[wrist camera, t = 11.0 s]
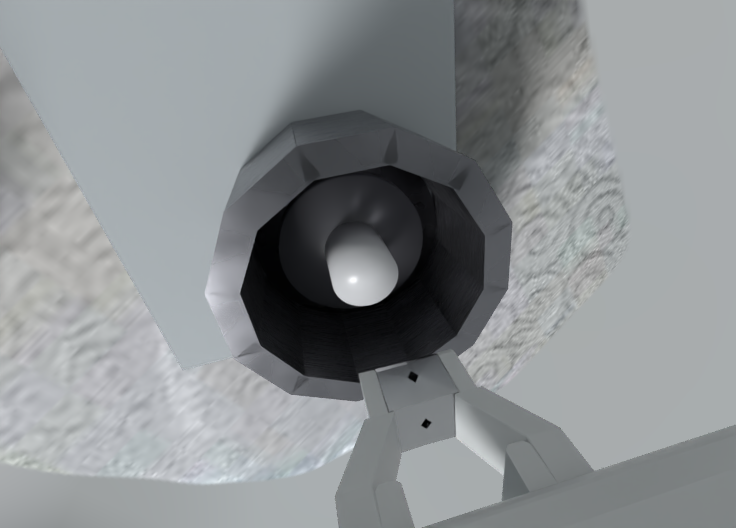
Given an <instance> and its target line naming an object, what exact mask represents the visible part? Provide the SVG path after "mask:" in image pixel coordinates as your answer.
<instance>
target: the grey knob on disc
mask: <svg viewBox="0 0 736 528" xmlns="http://www.w3.org/2000/svg"><path fill="white" fill-rule="evenodd" d="M422 243H423V231H422V225H421V220H420V217H419V215H418V212H417V210H416V209H415V207H414V205H413V204H412V202H411V201H410V200H409V199H408V197H407V196H406V195H405V194H404V193H403V192H402V191H401V190H400V189H399V188H398V187H397V186H396V185H395V184H393V183H392V182H390V181H389V180H387V179H386V178H384V177H382V176H380V175H377V174H374V173H371V172H367V171H357V172H353V173H348V174H343V175H338V176H333V177H328V178H323V179H318V180H314V181H313V182H312V183H311V184H309V185H308V186H307V187H306V188H305V189H304V190H303V191H302V192H300V193H299V194H298V195H297V196H296V197H295V198H294V199H292V200H291V201H290V203H289V205H288V206H287V208H286V210H285V212H284V214H283V216H282V220H281V223H280V228H279V257H280V263H281V266H282V269H283V271H284V273H285V275H286V277H287V279H288V280H289V282H290V283H291V285H292V286H293V287H294V288H295V289H296V290H297V291H298V292H299V293H301V294H302V295H303V296H304V297H306V298H308V299H309V300H311V301H313V302H315V303H318V304H320V305H323V306H327V307H332V308H341V309H348V308H358V307H363V306H368V305H372V304H375V303H377V302H379V301H381V300H383V299H384V298H386V297H387V296H389V295H390V294H392V293H393V292H394V291H396V290H397V289H398V288H399V287H400V286H401V285H402V284H403V283H404V282H405V281H406V280H407V279H408V278H409V276H410V275H411V273H412V272H413V270H414V269H415V266H416V264H417V262H418V260H419V257H420V254H421V249H422Z"/></svg>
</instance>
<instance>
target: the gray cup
mask: <svg viewBox="0 0 736 528" xmlns="http://www.w3.org/2000/svg"><path fill="white" fill-rule="evenodd" d="M357 171H367V172H371V173H374V174H377V175H380V176H382V177H384V178H386V179H387V180H389V181H390V182H392V183H393V184H395V185H396V186H397V187H398V188H399V189H400V190H401V191H402V192H403V193H404V194H405V195H406V196H407V197H408V199H409V200H410V201H411V202H412V204H413V205H414V207H415V209H416V210H417V212H418V215H419V217H420V220H421V225H422V231H423V243H422V249H421V254H420V257H419V260H418V262H417V264H416V266H415V269H414V270H413V272H412V273H411V275H410V276H409V278H408V279H407V280H406V281H405V282H404V283H403V284H402V285H401V286H400V287H399V288H398V289H397V290H396V291H394V292H393V293H392V294H390V295H389V296H387V297H386V298H384V299H383V300H381V301H379V302H377V303H375V304H372V305H368V306H363V307H358V308H348V309H341V308H332V307H327V306H323V305H320V304H318V303H315V302H313V301H311V300H309V299H308V298H306V297H304V296H303V295H302V294H301V293H299V292H298V291H297V290H296V289H295V288H294V287H293V286H292V285H291V283H290V282H289V280H288V279H287V277H286V275H285V273H284V271H283V269H282V266H281V263H280V257H279V228H280V223H281V220H282V216H283V214H284V212H285V210H286V208H287V206H288V205H289V203H290V201H291V200H292V199H294V198H295V197H296V196H297V195H298V194H299V193H300V192H302V191H303V190H304V189H305V188H306V187H307V186H308V185H309V184H311V183H312V182H313V181H314V180H318V179H323V178H328V177H333V176H338V175H343V174H348V173H353V172H357ZM426 185H427V186H426ZM428 188H429V189H430V191H431V192H432V197H431V194H430V192H429V189H428ZM511 236H512V221H511V219H510V218H509V216H508V214H507V213H506V211H505V209H504V208H503V206H502V204H501V202H500V201H499V199H498V197H497V196H496V194H495V192H494V191H493V189H492V187H491V186H490V184H489V182H488V181H487V179H486V177H485V176H484V174H483V172H482V171H481V169H480V167H479V166H478V164H477V162H476V161H475V160H474V159H471V158H469V157H467V156H465V155H463V154H461V153H459V152H456V151H454V150H452V149H450V148H448V147H446V146H444V145H441V144H439V143H437V142H435V141H433V140H431V139H429V138H427V137H424V136H422V135H420V134H418V133H415V132H413V131H411V130H408V129H406V128H403V127H401V126H399V125H396V124H394V123H391V122H389V121H387V120H384V119H382V118H379V117H377V116H375V115H372V114H370V113H367V112H365V111H363V110H355V111H349V112H344V113H338V114H333V115H327V116H322V117H316V118H311V119H305V120H300V121H294V122H290V123H289V124H288V125H287V126H286V127H285V128H284V129H283V130H282V131H281V132H280V133H279V134H278V135H276V136H275V137H274V138H273V139H272V140H271V141H270V142H269V143H268V144H267V145H266V146H265V147H264V148H262V149H261V150H260V151H259V152H258V153H257V154H256V155H255V156H254V157H253V158H252V159H251V160H250V161H248V162H247V163H246V164H245V165H244V166H243V167H242V168H241V169H240V171H239V173H238V176H237V178H236V181H235V184H234V186H233V189H232V192H231V194H230V197H229V199H228V202H227V205H226V207H225V210H224V212H223V216H222V221H221V225H220V229H219V234H218V238H217V242H216V247H215V251H214V255H213V259H212V264H211V268H210V272H209V277H208V281H207V285H206V290H205V296H206V299H207V301H208V303H209V305H210V307H211V310H212V312H213V314H214V316H215V318H216V321H217V323H218V325H219V327H220V329H221V332H222V334H223V336H224V338H225V340H226V343H227V345H228V347H229V349H230V351H231V354H232V356H233V358H234V359H235V360H236V361H238V362H240V363H241V364H243V365H244V366H246V367H248V368H249V369H251V370H252V371H254V372H256V373H257V374H259V375H260V376H262V377H264V378H265V379H267V380H268V381H270V382H271V383H273V384H275V385H276V386H278V387H279V388H281V389H283V390H284V391H286V392H287V393H289V394H291V395H300V396H310V397H319V398H329V399H339V400H348V401H360V400H363V399H364V398H363V393H362V389H361V384H360V379H359V373H363V372H367V371H372V370H375V369H378V368H382V367H387V366H391V365H395V364H399V363H403V362H406V361H409V360H413V359H416V358H420V357H423V356H427V355H431V354H434V353H435V354H436V353H438V352H441V351H445V350H449V349H452V350H454V352H455V353H456V355H457V356H459V355H460V354H462V353H463V352H464V351H466V350H467V349H468V348H470V347H471V346H473V344H474V343H475V342H476V340H477V338H478V337H479V335H480V334H481V332H482V330H483V329H484V327H485V325H486V324H487V322H488V320H489V319H490V317H491V316H492V314H493V312H494V311H495V309H496V307H497V306H498V304H499V303H500V301H501V299H502V298H503V296H504V294H505V293H506V291H507V290H508V281H509V266H510V251H511ZM254 241H255V243H254ZM264 272H265V273H266V275H267V276H266V275H265V273H264Z"/></svg>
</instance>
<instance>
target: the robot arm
mask: <svg viewBox="0 0 736 528" xmlns="http://www.w3.org/2000/svg"><path fill="white" fill-rule="evenodd" d="M359 379H360V384H361V389H362V393H363V398H364V402H365V407H366V412H367V416H368V419H366V420H365V421H364V423H363V426H362V428H361V431H360V433H359V436H358V439H357V441H356V444H355V446H354V449H353V452H352V454H351V457H350V459H349V462H348V464H347V467H346V469H345V472H344V474H343V477H342V479H341V482H340V485H339V487H338V490H337V492H336V495H335V501H336V509H337V517H338V524H339V528H415V527H414V524H413V521H412V518H411V514H410V511H409V508H408V504H407V501H406V498H405V494H404V491H403V488H402V485H401V483H400V482H398V481H396V477H397V473H398V468H399V464H400V459H401V453H402V452H405V451H408V450H411V449H414V448H417V447H420V446H423V445H426V444H430V443H433V442H437V441H440V440H444V439H448V438H452V437H456V438H457V439H458V440H460V441H461V442H462V443H463V444H464V445H466V446H467V447H468V448H470V449H471V450H472V451H473V452H474V453H476V454H477V455H478V456H479V457H481V458H482V459H483V460H485V461H486V462H487V463H488V464H490V465H491V466H492V467H493V468H495V469H496V470H497V471H498V472H500V473H501V474H502V475H503V476H504V480H503V492H502V502H499V503H495V504H492V505H489V506H487V507H483V508H480V509H477V510H474V511H471V512H468V513H465V514H462V515H459V516H456V517H453V518H450V519H447V520H444V521H441V522H438V523H435V524H432V525H429V526H426V527H422V528H736V425H734V426H730V427H727V428H724V429H721V430H718V431H715V432H712V433H709V434H706V435H703V436H700V437H697V438H694V439H691V440H688V441H685V442H681V443H678V444H675V445H673V446H669V447H666V448H663V449H660V450H657V451H654V452H651V453H648V454H645V455H642V456H639V457H636V458H633V459H630V460H627V461H624V462H621V463H618V464H615V465H612V466H608V467H606V468H602V469H599V470H597V471H594V470H593V469H592V468H591V466H590V465H589V464H588V462H587V461H586V460H585V459H584V457H583V456H582V455H581V454H580V452H579V451H578V450H577V449H576V447H575V446H574V445H573V443H572V442H571V441H570V440H569V438H568V437H567V436H566V435H565V433H564V432H563V431H562V430H561V428H560V427H558V426H556V425H554V424H552V423H550V422H548V421H546V420H545V419H543V418H541V417H539V416H537V415H535V414H533V413H531V412H530V411H528V410H526V409H524V408H522V407H520V406H518V405H516V404H514V403H512V402H511V401H509V400H507V399H505V398H503V397H501V396H499V395H497V394H496V393H494V392H492V391H490V390H488V389H486V388H484V387H482V386H481V387H477V386H476V385H475V383H474V382H473V380H472V378H471V377H470V375H469V374H468V372H467V371H466V369H465V367H464V366H463V364H462V363H461V361H460V360H459V358H458V356H457V355H456V353H455V352H454V350H452V349H449V350H445V351H441V352H438V353H436V354H435V353H434V354H431V355H427V356H423V357H420V358H416V359H413V360H409V361H406V362H403V363H399V364H395V365H391V366H387V367H382V368H378V369H375V370H372V371H367V372H363V373H359Z"/></svg>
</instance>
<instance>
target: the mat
mask: <svg viewBox="0 0 736 528" xmlns="http://www.w3.org/2000/svg"><path fill="white" fill-rule="evenodd" d="M0 48H1V50H2V52H3V53H4V55H5V57H6V59H7V61H8V62H9V64H10V66H11V68H12V69H13V71H14V73H15V75H16V76H17V78H18V80H19V82H20V84H21V85H22V87H23V89H24V91H25V92H26V94H27V96H28V98H29V99H30V101H31V103H32V105H33V107H34V108H35V110H36V112H37V114H38V115H39V117H40V119H41V121H42V122H43V124H44V126H45V128H46V129H47V131H48V133H49V135H50V137H51V138H52V140H53V142H54V144H55V145H56V147H57V149H58V151H59V152H60V154H61V156H62V158H63V160H64V161H65V163H66V165H67V167H68V168H69V170H70V172H71V174H72V175H73V177H74V179H75V181H76V183H77V184H78V186H79V188H80V190H81V191H82V193H83V195H84V197H85V198H86V200H87V202H88V204H89V206H90V207H91V209H92V211H93V213H94V214H95V216H96V218H97V220H98V221H99V223H100V225H101V227H102V229H103V230H104V232H105V234H106V236H107V237H108V239H109V241H110V243H111V244H112V246H113V248H114V250H115V252H116V253H117V255H118V257H119V259H120V260H121V262H122V264H123V266H124V267H125V269H126V271H127V273H128V275H129V276H130V278H131V280H132V282H133V283H134V285H135V287H136V289H137V290H138V292H139V294H140V296H141V298H142V299H143V301H144V303H145V305H146V306H147V308H148V310H149V312H150V313H151V315H152V317H153V319H154V321H155V322H156V324H157V326H158V328H159V329H160V331H161V333H162V335H163V336H164V338H165V340H166V342H167V344H168V345H169V347H170V349H171V351H172V352H173V354H174V356H175V358H176V359H177V361H178V363H179V365H180V366H181V368H182V370H185V369H189V368H193V367H197V366H201V365H205V364H209V363H213V362H217V361H221V360H225V359H229V358H233V356H232V354H231V351H230V349H229V347H228V345H227V343H226V340H225V338H224V336H223V334H222V332H221V329H220V327H219V325H218V323H217V321H216V318H215V316H214V314H213V312H212V310H211V307H210V305H209V303H208V301H207V299H206V296H205V290H206V285H207V281H208V277H209V272H210V268H211V264H212V259H213V255H214V251H215V247H216V242H217V238H218V234H219V229H220V225H221V221H222V216H223V212H224V210H225V207H226V205H227V202H228V199H229V197H230V194H231V192H232V189H233V186H234V184H235V181H236V178H237V176H238V173H239V171H240V169H241V168H242V167H243V166H244V165H245V164H246V163H247V162H248V161H250V160H251V159H252V158H253V157H254V156H255V155H256V154H257V153H258V152H259V151H260V150H261V149H262V148H264V147H265V146H266V145H267V144H268V143H269V142H270V141H271V140H272V139H273V138H274V137H275V136H276V135H278V134H279V133H280V132H281V131H282V130H283V129H284V128H285V127H286V126H287V125H288V124H289V123H290V122H294V121H300V120H305V119H311V118H316V117H322V116H327V115H333V114H338V113H344V112H349V111H355V110H363V111H365V112H367V113H370V114H372V115H375V116H377V117H379V118H382V119H384V120H387V121H389V122H391V123H394V124H396V125H399V126H401V127H403V128H406V129H408V130H411V131H413V132H415V133H418V134H420V135H422V136H424V137H427V138H429V139H431V140H433V141H435V142H437V143H439V144H441V145H444V146H446V147H448V148H450V149H452V150H454V151H456V93H455V34H454V0H0ZM426 186H427V185H426ZM428 189H429V188H428ZM429 192H430V194H431V197H432V192H431V191H430V189H429ZM254 243H255V241H254ZM264 273H265V272H264ZM265 275H266V273H265ZM266 276H267V275H266Z"/></svg>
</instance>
